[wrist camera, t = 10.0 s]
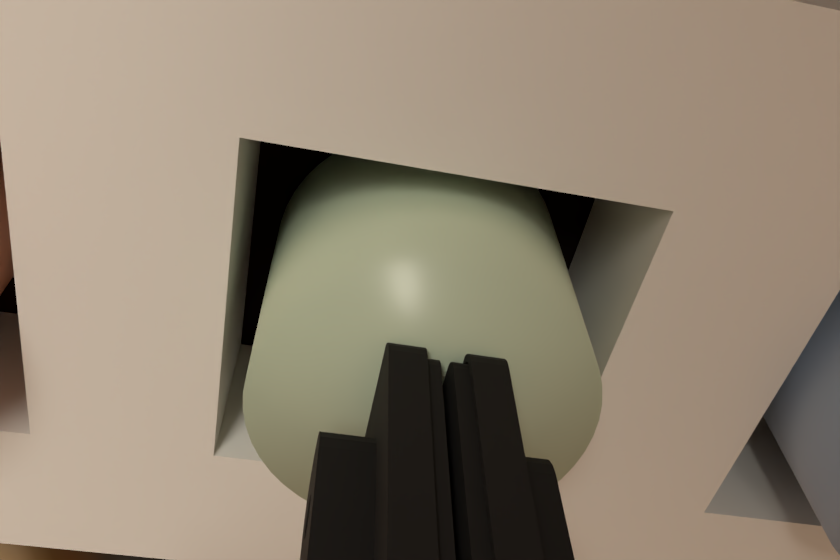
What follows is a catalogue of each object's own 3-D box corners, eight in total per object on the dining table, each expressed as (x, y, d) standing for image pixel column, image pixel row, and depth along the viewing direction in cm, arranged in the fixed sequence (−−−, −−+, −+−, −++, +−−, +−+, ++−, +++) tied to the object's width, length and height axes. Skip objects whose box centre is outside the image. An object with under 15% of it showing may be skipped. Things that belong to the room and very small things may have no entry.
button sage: (293, 104, 13) (258, 237, 9) (591, 157, 13) (656, 298, 10) (264, 344, 16) (230, 511, 12) (513, 378, 16) (543, 544, 13)
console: (-721, -371, 10) (-1108, -404, 7) (1349, 84, 14) (1561, 164, 11) (-370, 376, 16) (-507, 493, 14) (950, 532, 20) (1027, 643, 18)
